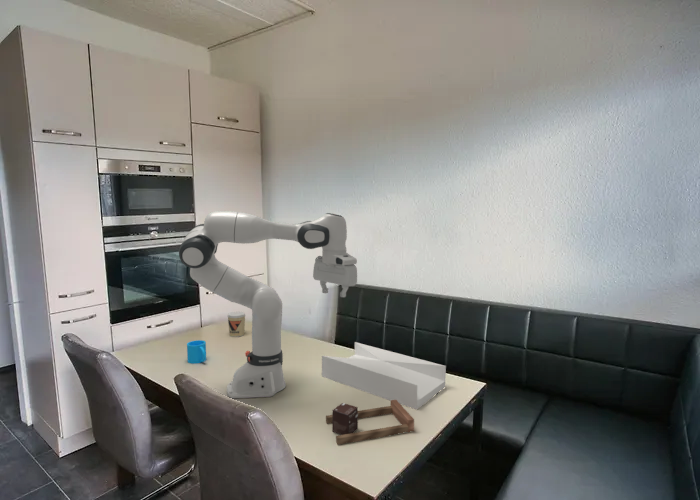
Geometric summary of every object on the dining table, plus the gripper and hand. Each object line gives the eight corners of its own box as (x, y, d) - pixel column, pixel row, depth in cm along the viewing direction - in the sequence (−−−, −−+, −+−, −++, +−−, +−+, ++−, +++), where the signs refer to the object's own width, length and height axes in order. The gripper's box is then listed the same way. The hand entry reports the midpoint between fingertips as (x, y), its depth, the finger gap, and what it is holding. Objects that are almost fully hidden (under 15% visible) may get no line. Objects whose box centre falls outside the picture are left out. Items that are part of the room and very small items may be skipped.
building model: (445, 389, 160) (445, 366, 159) (416, 411, 143) (417, 385, 142) (354, 362, 188) (354, 341, 187) (321, 377, 171) (321, 355, 170)
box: (348, 438, 125) (348, 415, 125) (331, 432, 129) (331, 409, 128) (358, 428, 130) (358, 407, 130) (342, 423, 134) (342, 402, 133)
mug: (184, 360, 188) (183, 343, 187) (201, 355, 194) (200, 339, 193) (196, 367, 180) (196, 349, 179) (213, 362, 186) (213, 344, 185)
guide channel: (337, 445, 122) (337, 432, 121) (325, 421, 135) (325, 409, 134) (413, 431, 129) (414, 419, 129) (395, 410, 142) (395, 399, 142)
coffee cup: (225, 337, 222) (224, 315, 221) (232, 332, 231) (232, 311, 230) (241, 338, 220) (240, 316, 219) (248, 332, 230) (247, 311, 228)
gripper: (309, 255, 155) (309, 291, 156) (347, 261, 141) (347, 300, 142) (321, 254, 160) (321, 289, 161) (360, 259, 145) (359, 298, 147)
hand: (333, 294), depth 152 cm, fingers open, 8 cm apart
